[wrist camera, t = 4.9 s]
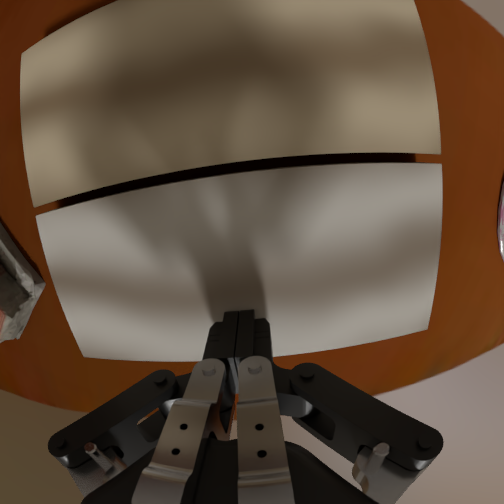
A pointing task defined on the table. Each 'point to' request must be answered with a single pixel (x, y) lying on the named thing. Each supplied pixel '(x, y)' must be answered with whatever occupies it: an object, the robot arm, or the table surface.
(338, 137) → the oak plank
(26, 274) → the packaged product
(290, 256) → the whitewashed plank
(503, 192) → the teacup
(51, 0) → the table surface
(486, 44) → the table surface
